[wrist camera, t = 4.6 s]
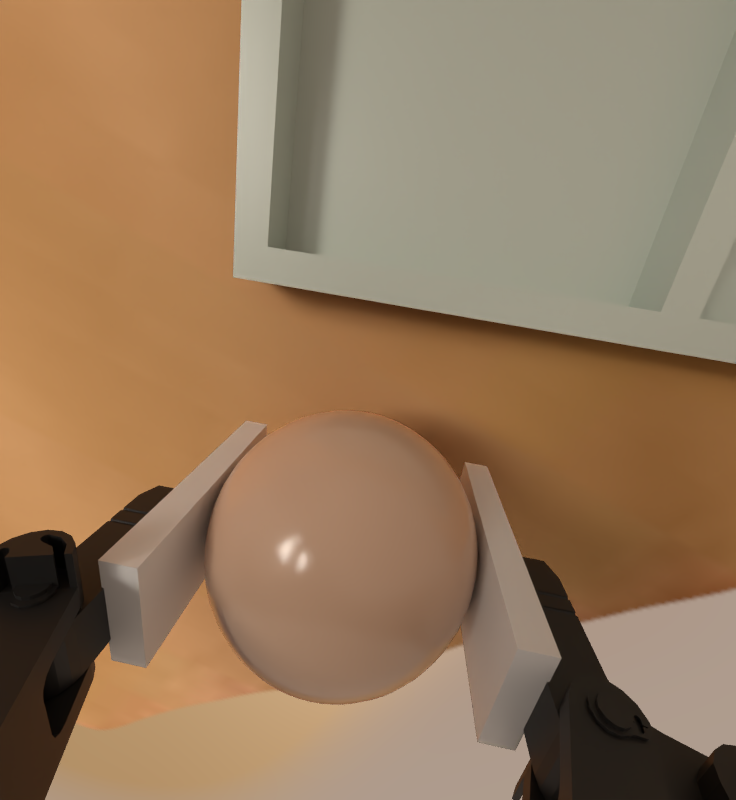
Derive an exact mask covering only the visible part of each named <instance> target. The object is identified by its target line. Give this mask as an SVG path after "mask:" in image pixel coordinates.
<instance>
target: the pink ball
mask: <svg viewBox="0 0 736 800" xmlns="http://www.w3.org/2000/svg"><path fill="white" fill-rule="evenodd" d="M477 560H478V544H477V533H476V527H475V521H474V517H473V513H472V509H471V506H470V503H469V501H468V498H467V495H466V493H465V491H464V489H463V486H462V484H461V482H460V480H459V479H458V477H457V476H456V474H455V472H454V471H453V469H452V468H451V466H450V465H449V463H448V462H447V461H446V459H445V458H444V457H443V456H442V455H441V453H440V452H439V451H438V450H437V449H436V448H435V447H434V446H433V445H431V444H430V443H429V442H428V441H427V440H426V439H425V438H423V437H422V436H420V435H419V434H418V433H416V432H415V431H413V430H412V429H410V428H409V427H407V426H405V425H403V424H401V423H399V422H397V421H395V420H392V419H390V418H387V417H385V416H382V415H378V414H374V413H370V412H363V411H355V410H335V411H327V412H320V413H316V414H312V415H308V416H304V417H301V418H299V419H296V420H294V421H291V422H289V423H287V424H285V425H284V426H282V427H280V428H278V429H277V430H275V431H273V432H272V433H270V434H268V435H267V436H266V437H264V438H263V439H262V440H261V441H259V442H258V443H257V444H256V445H255V446H254V447H253V448H251V449H250V450H249V451H248V452H247V454H246V455H245V456H244V457H243V458H242V459H241V460H240V461H239V462H238V464H237V465H236V467H235V468H234V469H233V471H232V472H231V474H230V475H229V477H228V478H227V480H226V481H225V483H224V485H223V487H222V489H221V491H220V494H219V496H218V498H217V500H216V503H215V505H214V507H213V510H212V513H211V517H210V521H209V526H208V530H207V534H206V541H205V555H204V571H205V581H206V588H207V594H208V598H209V602H210V605H211V608H212V611H213V614H214V616H215V619H216V622H217V624H218V626H219V629H220V631H221V632H222V634H223V636H224V638H225V639H226V641H227V642H228V644H229V645H230V647H231V648H232V650H233V651H234V653H235V654H236V655H237V656H238V658H239V659H240V660H241V661H242V662H243V663H244V664H245V665H246V666H247V667H248V668H249V669H250V670H251V671H252V672H254V673H255V674H256V675H257V676H258V677H260V678H261V679H262V680H263V681H265V682H266V683H268V684H269V685H271V686H272V687H274V688H276V689H278V690H279V691H281V692H284V693H286V694H288V695H290V696H293V697H296V698H299V699H302V700H306V701H310V702H316V703H321V704H352V703H357V702H363V701H368V700H373V699H376V698H379V697H382V696H384V695H387V694H389V693H392V692H393V691H396V690H397V689H399V688H401V687H403V686H405V685H406V684H408V683H409V682H411V681H413V680H415V679H416V678H417V677H418V676H419V675H421V674H422V673H423V672H424V671H425V670H426V669H428V668H429V667H430V666H431V665H432V664H433V663H434V662H435V661H436V660H437V659H438V658H439V657H440V656H441V654H442V653H443V652H444V651H445V649H446V648H447V646H448V645H449V643H450V642H451V641H452V639H453V638H454V636H455V635H456V633H457V631H458V630H459V627H460V625H461V623H462V621H463V618H464V616H465V614H466V612H467V609H468V607H469V605H470V601H471V597H472V593H473V589H474V585H475V580H476V575H477Z"/></svg>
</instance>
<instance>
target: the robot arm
mask: <svg viewBox="0 0 736 800" xmlns="http://www.w3.org/2000/svg"><path fill="white" fill-rule="evenodd" d="M266 436H267V424H262V423H256V422H251V421H245V422H244V423H243V424H242V425H241V426H240V427H239V428H238V429H237V430H236V431H235V432H234V433H233V434H231V435H230V436H229V437H228V438H227V439H226V440H225V441H224V442H223V443H222V444H221V445H220V446H219V447H218V448H217V449H216V450H214V451H213V452H212V453H211V454H210V455H209V456H208V457H207V458H206V459H205V460H204V461H203V462H202V463H201V464H200V465H199V466H197V467H196V468H195V469H194V470H193V471H192V472H191V473H190V474H189V475H188V476H187V477H186V478H185V479H184V480H183V481H182V482H181V483H179V484H178V485H177V486H176V487H175V488H169V487H164V486H157V487H155V488H153V489H151V490H148V491H146V492H144V493H142V494H140V495H138V496H137V497H136V498H135V499H134V500H132V501H131V502H130V503H129V504H128V505H127V506H125V507H124V509H123V510H121V511H119V512H118V513H117V514H116V515H115V516H113V517H112V518H111V521H108V522H106V523H105V524H104V525H103V526H102V527H100V528H99V529H98V530H97V531H96V532H94V533H93V534H92V535H91V536H90V537H89V538H87V539H86V540H85V541H84V542H83V543H81V544H80V545H79V546H78V547H77V548H76V545H75V542H74V540H73V538H72V536H71V535H69V534H67V533H65V532H63V531H55V530H44V531H37V532H30V533H27V534H24V535H21V536H18V537H14V538H11V539H9V540H8V541H6V542H4V543H2V544H0V800H45V797H46V795H47V792H48V790H49V787H50V785H51V783H52V780H53V778H54V775H55V773H56V770H57V768H58V765H59V762H60V760H61V758H62V755H63V753H64V750H65V748H66V745H67V743H68V740H69V738H70V735H71V733H72V730H73V728H74V725H75V723H76V720H77V718H78V715H79V713H80V711H81V708H82V706H83V703H84V701H85V698H86V696H87V693H88V691H89V688H90V686H91V683H92V681H93V677H94V672H95V662H94V660H95V659H96V657H97V656H98V655H99V654H100V652H101V651H102V650H103V649H104V647H105V646H106V645H107V644H108V642H109V644H110V652H111V659H112V660H113V661H118V662H122V663H127V664H131V665H136V666H140V667H145V668H146V667H147V666H148V664H149V663H150V661H151V660H152V658H153V657H154V655H155V654H156V652H157V650H158V649H159V647H160V646H161V644H162V643H163V641H164V640H165V638H166V637H167V635H168V634H169V632H170V631H171V629H172V628H173V626H174V625H175V623H176V622H177V620H178V619H179V617H180V615H181V614H182V612H183V611H184V609H185V608H186V606H187V605H188V603H189V602H190V600H191V599H192V597H193V596H194V594H195V593H196V591H197V590H198V588H199V587H200V585H201V584H202V582H203V580H204V579H205V571H204V555H205V541H206V534H207V530H208V526H209V521H210V517H211V513H212V510H213V507H214V505H215V503H216V500H217V498H218V496H219V494H220V491H221V489H222V487H223V485H224V483H225V481H226V480H227V478H228V477H229V475H230V474H231V472H232V471H233V469H234V468H235V467H236V465H237V464H238V462H239V461H240V460H241V459H242V458H243V457H244V456H245V455H246V454H247V452H248V451H249V450H250V449H251V448H253V447H254V446H255V445H256V444H257V443H258V442H259V441H261V440H262V439H263V438H264V437H266ZM460 482H461V484H462V486H463V489H464V491H465V493H466V495H467V498H468V501H469V503H470V506H471V509H472V513H473V517H474V521H475V527H476V533H477V544H478V560H477V575H476V580H475V585H474V589H473V593H472V597H471V601H470V605H469V607H468V609H467V612H466V614H465V616H464V618H463V621H462V623H461V630H462V637H463V644H464V651H465V658H466V665H467V672H468V678H469V686H470V693H471V700H472V707H473V714H474V721H475V729H476V736H477V742H479V743H484V744H488V745H493V746H497V747H501V748H506V749H510V750H516V748H517V746H518V744H519V742H520V740H521V738H522V736H523V734H525V738H526V742H527V747H528V751H529V755H530V761H529V762H528V764H527V766H526V768H525V770H524V772H523V774H522V775H521V777H520V779H519V781H518V783H517V785H516V787H515V790H514V794H513V797H512V799H513V800H520V798H521V796H522V794H523V797H522V800H736V746H733V745H725V744H723V745H721V746H720V747H718V748H717V749H715V750H714V751H713V753H712V754H711V755H710V756H709V757H707V756H705V755H703V754H701V753H699V752H698V751H695V750H694V749H692V748H690V747H688V746H686V745H684V744H682V743H680V742H678V741H676V740H674V739H673V738H671V737H669V736H667V735H665V734H663V733H661V732H660V731H658V730H656V729H655V728H653V727H652V726H651V725H650V723H649V721H648V720H647V718H646V717H645V715H644V714H643V713H642V711H641V710H640V708H639V707H638V705H637V704H636V703H635V702H634V701H633V700H631V698H629V697H628V696H627V695H626V694H625V693H624V692H623V691H622V690H621V689H619V688H618V687H616V686H615V685H613V684H611V683H610V682H609V681H608V679H607V677H606V676H605V674H604V671H603V669H602V667H601V665H600V663H599V661H598V659H597V657H596V655H595V652H594V650H593V648H592V646H591V644H590V642H589V640H588V638H587V636H586V634H585V632H584V629H583V627H582V625H581V623H580V621H579V619H578V617H577V616H575V611H574V609H573V607H572V604H571V602H570V600H568V596H567V594H566V592H565V590H564V588H563V586H562V584H561V581H560V579H559V578H558V577H557V576H556V574H555V573H554V572H553V571H552V570H551V569H550V568H549V567H548V565H547V564H546V563H545V562H544V561H540V560H535V559H530V558H525V557H522V555H521V552H520V550H519V547H518V545H517V542H516V539H515V537H514V534H513V532H512V529H511V527H510V524H509V521H508V519H507V516H506V514H505V511H504V508H503V506H502V503H501V501H500V498H499V496H498V493H497V490H496V488H495V485H494V483H493V480H492V478H491V475H490V472H489V470H488V467H487V466H483V465H478V464H473V463H468V462H465V464H464V467H463V471H462V474H461V478H460Z"/></svg>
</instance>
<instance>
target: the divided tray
mask: <svg viewBox="0 0 736 800" xmlns="http://www.w3.org/2000/svg"><path fill="white" fill-rule="evenodd" d="M233 277H235V278H241V279H247V280H253V281H258V282H264V283H270V284H276V285H282V286H287V287H293V288H299V289H305V290H311V291H316V292H322V293H328V294H334V295H340V296H345V297H351V298H357V299H363V300H369V301H375V302H380V303H386V304H392V305H398V306H404V307H409V308H415V309H421V310H427V311H433V312H438V313H444V314H450V315H456V316H462V317H467V318H473V319H479V320H485V321H491V322H496V323H502V324H508V325H514V326H520V327H525V328H531V329H537V330H543V331H549V332H554V333H560V334H566V335H572V336H578V337H583V338H589V339H595V340H601V341H607V342H612V343H618V344H624V345H630V346H636V347H641V348H647V349H653V350H659V351H665V352H670V353H676V354H682V355H688V356H694V357H700V358H705V359H711V360H717V361H723V362H729V363H734V364H736V0H242V4H241V36H240V69H239V101H238V134H237V166H236V199H235V231H234V264H233Z"/></svg>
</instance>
